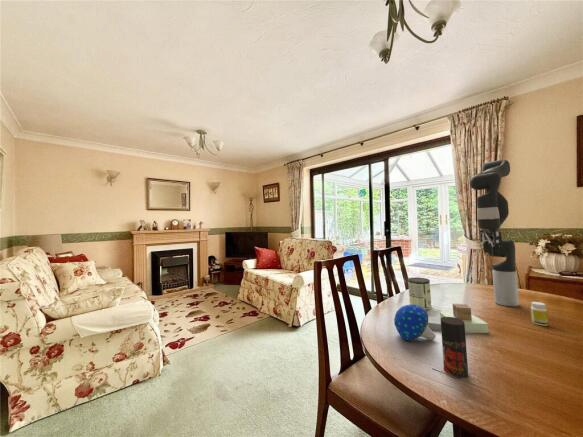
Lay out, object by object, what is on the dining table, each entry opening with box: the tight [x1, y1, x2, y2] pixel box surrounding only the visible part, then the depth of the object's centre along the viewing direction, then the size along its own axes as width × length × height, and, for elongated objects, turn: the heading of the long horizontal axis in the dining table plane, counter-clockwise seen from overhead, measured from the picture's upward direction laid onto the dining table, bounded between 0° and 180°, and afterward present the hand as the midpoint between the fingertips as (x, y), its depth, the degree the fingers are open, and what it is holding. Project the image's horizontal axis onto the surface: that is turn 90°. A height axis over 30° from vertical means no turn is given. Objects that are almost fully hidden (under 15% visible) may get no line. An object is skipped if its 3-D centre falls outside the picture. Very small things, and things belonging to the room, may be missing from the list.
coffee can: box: [407, 276, 433, 311], centre depth 122 cm, size 10×10×14 cm
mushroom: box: [393, 304, 437, 342], centre depth 89 cm, size 14×14×15 cm
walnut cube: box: [452, 303, 472, 321], centre depth 98 cm, size 5×5×5 cm
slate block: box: [427, 316, 441, 332], centre depth 98 cm, size 7×7×3 cm
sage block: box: [439, 311, 489, 334], centre depth 98 cm, size 12×12×4 cm
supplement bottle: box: [530, 301, 549, 327], centre depth 97 cm, size 5×5×8 cm
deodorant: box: [441, 317, 469, 379], centre depth 69 cm, size 6×6×15 cm
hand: (491, 253), depth 104 cm, fingers open, 8 cm apart
